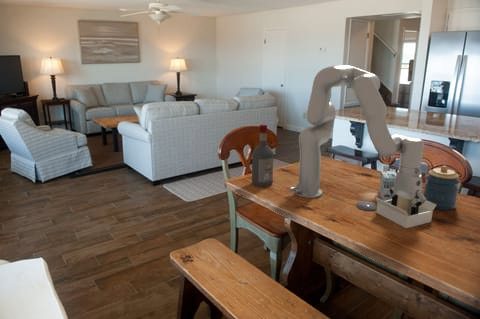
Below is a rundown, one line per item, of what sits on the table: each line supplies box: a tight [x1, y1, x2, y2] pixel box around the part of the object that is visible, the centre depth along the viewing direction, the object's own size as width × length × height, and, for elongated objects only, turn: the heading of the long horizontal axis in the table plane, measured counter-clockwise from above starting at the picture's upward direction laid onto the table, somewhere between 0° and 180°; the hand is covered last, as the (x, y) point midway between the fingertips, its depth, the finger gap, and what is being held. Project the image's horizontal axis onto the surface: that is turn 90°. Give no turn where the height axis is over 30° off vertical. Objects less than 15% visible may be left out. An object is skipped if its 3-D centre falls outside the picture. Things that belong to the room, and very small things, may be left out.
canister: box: [422, 165, 461, 211], centre depth 155 cm, size 13×13×18 cm
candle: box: [397, 196, 412, 216], centre depth 144 cm, size 6×6×10 cm
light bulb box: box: [378, 170, 397, 201], centre depth 165 cm, size 11×7×11 cm, turn 168°
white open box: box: [374, 196, 436, 229], centre depth 145 cm, size 16×15×7 cm
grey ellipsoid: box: [356, 200, 377, 212], centre depth 156 cm, size 8×8×1 cm
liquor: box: [251, 124, 275, 188], centre depth 178 cm, size 9×9×30 cm
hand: (403, 210), depth 145 cm, fingers open, 9 cm apart
